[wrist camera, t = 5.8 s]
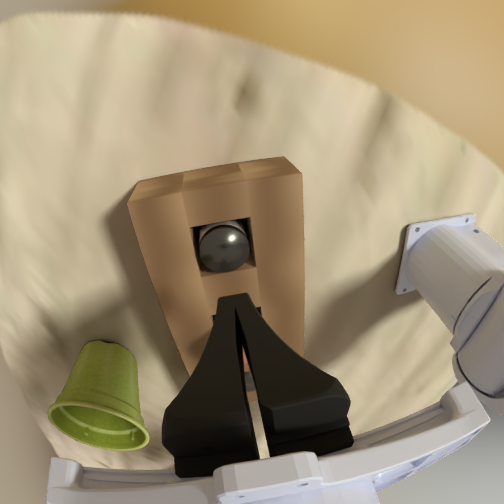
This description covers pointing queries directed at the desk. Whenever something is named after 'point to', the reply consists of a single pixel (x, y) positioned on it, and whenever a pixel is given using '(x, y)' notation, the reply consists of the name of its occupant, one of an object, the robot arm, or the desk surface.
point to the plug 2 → (249, 382)
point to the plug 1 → (223, 245)
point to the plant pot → (102, 400)
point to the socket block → (258, 235)
